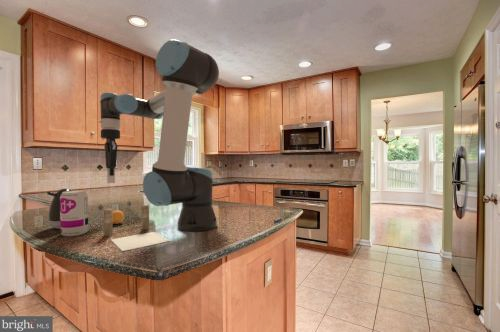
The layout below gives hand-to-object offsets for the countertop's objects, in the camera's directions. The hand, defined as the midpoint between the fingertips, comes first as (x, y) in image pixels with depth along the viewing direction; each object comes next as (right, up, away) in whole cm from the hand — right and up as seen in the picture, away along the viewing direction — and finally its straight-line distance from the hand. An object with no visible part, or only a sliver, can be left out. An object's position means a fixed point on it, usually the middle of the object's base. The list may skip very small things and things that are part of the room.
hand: (111, 183), depth 111 cm
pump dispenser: (-11, -17, -13) cm, 24 cm away
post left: (+12, -17, -23) cm, 31 cm away
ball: (+6, -14, -7) cm, 17 cm away
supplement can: (-1, -17, -21) cm, 27 cm away
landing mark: (+26, -17, -30) cm, 43 cm away
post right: (+21, -17, -15) cm, 31 cm away
